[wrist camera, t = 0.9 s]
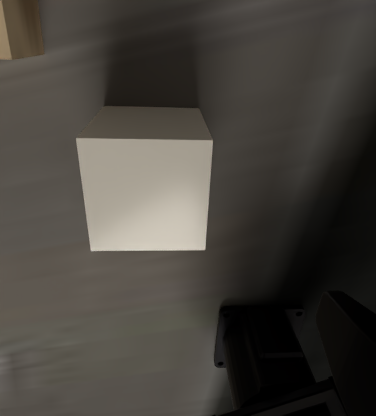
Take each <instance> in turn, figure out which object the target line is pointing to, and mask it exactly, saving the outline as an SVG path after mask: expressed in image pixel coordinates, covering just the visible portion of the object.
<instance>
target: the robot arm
mask: <svg viewBox="0 0 376 416" xmlns="http://www.w3.org/2000/svg"><path fill="white" fill-rule="evenodd" d="M225 313H227V314H225ZM305 314H306V312H305V310H304V308H303V306H301V305H274V306H226V307H222V308H221V309H220V311H219V318H218V327H217V336H216V346H215V355H214V363H215V366H216V367H218V368H226V369H227V374H228V380H229V386H230V391H231V397H232V402H233V408H234V410H233V411H229V412H226V413H223V414H220V415H217V416H376V314H375V313H373V312H372V311H370V310H369V309H367V308H366V307H364V306H363V305H361V304H360V303H359V302H357V301H356V300H354V299H353V298H351V297H350V296H348V295H347V294H345V293H344V292H342V291H325V292H324V293H323V294H322V297H321V300H320V303H319V306H318V309H317V313H316V324H317V328H318V331H319V334H320V338H321V341H322V344H323V347H324V350H325V354H326V357H327V360H328V363H329V367H330V370H331V373H332V376H331V377H328V378H329V379H327V380H324V381H321V382H318V383H316V381H315V378H314V376H313V374H312V372H311V369H310V367H309V365H308V362H307V360H306V358H305V355H304V353H303V351H302V348H301V346H300V344H299V341H298V338H299V335H300V331H301V328H302V324H303V321H304V317H305ZM212 416H215V415H212Z"/></svg>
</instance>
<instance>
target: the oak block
mask: <svg viewBox="0 0 376 416" xmlns="http://www.w3.org/2000/svg"><path fill="white" fill-rule="evenodd" d="M43 54H44V47H43V39H42V32H41V24H40V16H39V8H38V1H37V0H0V59H8V60H13V59H19V58H25V57H31V56H37V55H43Z"/></svg>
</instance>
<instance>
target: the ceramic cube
mask: <svg viewBox="0 0 376 416" xmlns="http://www.w3.org/2000/svg"><path fill="white" fill-rule="evenodd" d="M76 142H77V149H78V157H79V164H80V172H81V179H82V187H83V194H84V202H85V209H86V217H87V224H88V232H89V239H90V247H91V251H146V250H205V244H206V230H207V216H208V203H209V189H210V175H211V161H212V147H213V139H212V137H211V135H210V132H209V130H208V128H207V126H206V123H205V121H204V119H203V116H202V114H201V112H200V110H199V108H173V107H130V106H104V107H103V108H102V109H101V110H100V111H99V112H98V113H97V115H96V116H95V117H94V118H93V119H92V120H91V121H90V123H89V124H88V125H87V126H86V127H85V128H84V129H83V131H82V132H81V133H80V134H79V135H78V136H77V138H76Z"/></svg>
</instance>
